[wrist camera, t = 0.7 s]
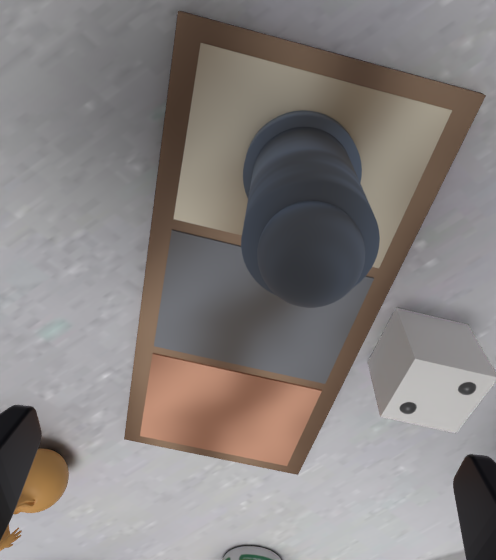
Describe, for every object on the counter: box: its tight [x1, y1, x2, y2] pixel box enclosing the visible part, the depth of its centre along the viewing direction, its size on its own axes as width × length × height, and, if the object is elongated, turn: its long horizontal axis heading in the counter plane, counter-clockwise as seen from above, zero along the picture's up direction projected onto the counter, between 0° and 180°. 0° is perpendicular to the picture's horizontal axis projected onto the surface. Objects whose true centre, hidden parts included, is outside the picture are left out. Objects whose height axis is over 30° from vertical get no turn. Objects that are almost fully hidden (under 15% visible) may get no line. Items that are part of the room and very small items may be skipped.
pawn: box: [241, 110, 380, 308], centre depth 15 cm, size 5×5×9 cm
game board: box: [124, 11, 486, 475], centre depth 23 cm, size 12×25×1 cm, turn 167°
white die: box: [368, 308, 496, 433], centre depth 22 cm, size 4×4×4 cm
